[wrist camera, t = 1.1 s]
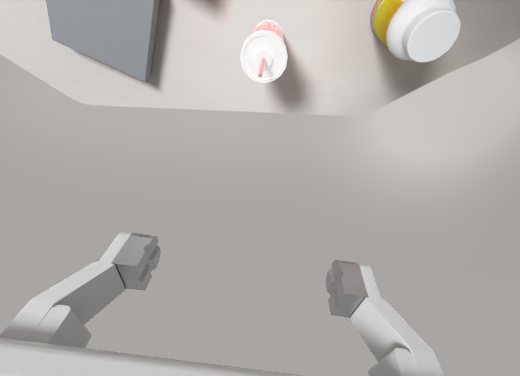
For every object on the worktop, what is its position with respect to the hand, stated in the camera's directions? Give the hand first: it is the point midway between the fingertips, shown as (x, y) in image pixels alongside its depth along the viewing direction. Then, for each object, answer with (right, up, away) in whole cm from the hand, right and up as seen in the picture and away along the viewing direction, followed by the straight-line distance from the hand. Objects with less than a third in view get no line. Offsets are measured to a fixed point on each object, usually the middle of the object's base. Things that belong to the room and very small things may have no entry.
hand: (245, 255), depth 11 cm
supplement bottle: (+19, +28, +22) cm, 40 cm away
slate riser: (-22, +30, +25) cm, 45 cm away
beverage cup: (+2, +26, +26) cm, 37 cm away
